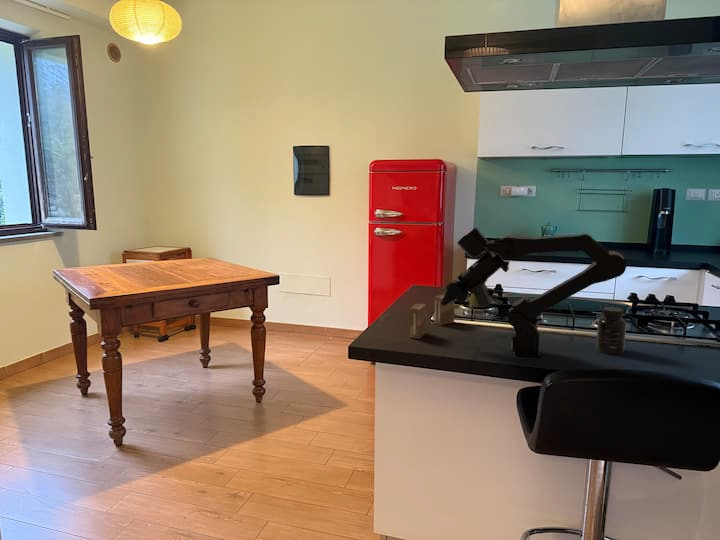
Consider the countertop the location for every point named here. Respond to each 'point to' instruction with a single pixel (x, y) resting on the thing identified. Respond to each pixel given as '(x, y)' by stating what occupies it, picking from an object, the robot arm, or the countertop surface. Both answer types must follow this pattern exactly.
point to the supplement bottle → (611, 331)
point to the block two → (443, 311)
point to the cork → (473, 301)
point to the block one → (417, 320)
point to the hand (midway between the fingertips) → (442, 304)
